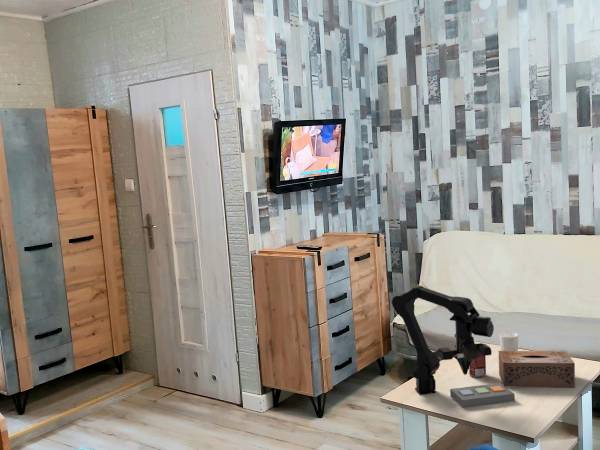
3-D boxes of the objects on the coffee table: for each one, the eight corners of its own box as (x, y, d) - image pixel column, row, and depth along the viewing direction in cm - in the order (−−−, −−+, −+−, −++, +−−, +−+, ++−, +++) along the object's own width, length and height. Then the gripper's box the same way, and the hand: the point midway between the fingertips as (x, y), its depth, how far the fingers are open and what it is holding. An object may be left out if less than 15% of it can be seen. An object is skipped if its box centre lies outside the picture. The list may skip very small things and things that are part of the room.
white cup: (501, 359, 264) (501, 337, 263) (498, 353, 272) (498, 332, 271) (520, 359, 263) (520, 337, 262) (517, 353, 271) (516, 332, 270)
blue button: (463, 402, 220) (463, 394, 220) (459, 398, 224) (458, 390, 224) (474, 401, 221) (473, 393, 221) (469, 397, 225) (469, 389, 225)
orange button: (494, 398, 222) (494, 390, 222) (489, 394, 226) (489, 386, 226) (504, 397, 223) (504, 389, 222) (499, 393, 227) (499, 385, 226)
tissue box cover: (503, 387, 234) (503, 362, 233) (499, 374, 248) (498, 350, 247) (574, 388, 229) (574, 363, 228) (566, 375, 243) (565, 351, 242)
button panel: (462, 408, 217) (462, 400, 216) (450, 396, 228) (450, 388, 227) (514, 401, 220) (514, 393, 219) (500, 390, 231) (499, 383, 230)
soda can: (486, 378, 244) (486, 349, 242) (469, 378, 245) (468, 349, 244) (485, 372, 250) (484, 344, 249) (468, 372, 252) (467, 344, 250)
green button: (479, 400, 221) (478, 392, 221) (474, 396, 225) (474, 388, 225) (489, 399, 222) (489, 391, 222) (484, 395, 226) (484, 387, 226)
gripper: (448, 341, 211) (449, 384, 213) (498, 336, 214) (499, 379, 216) (436, 333, 222) (437, 374, 224) (484, 328, 225) (485, 368, 227)
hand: (465, 374), depth 222 cm, fingers closed
